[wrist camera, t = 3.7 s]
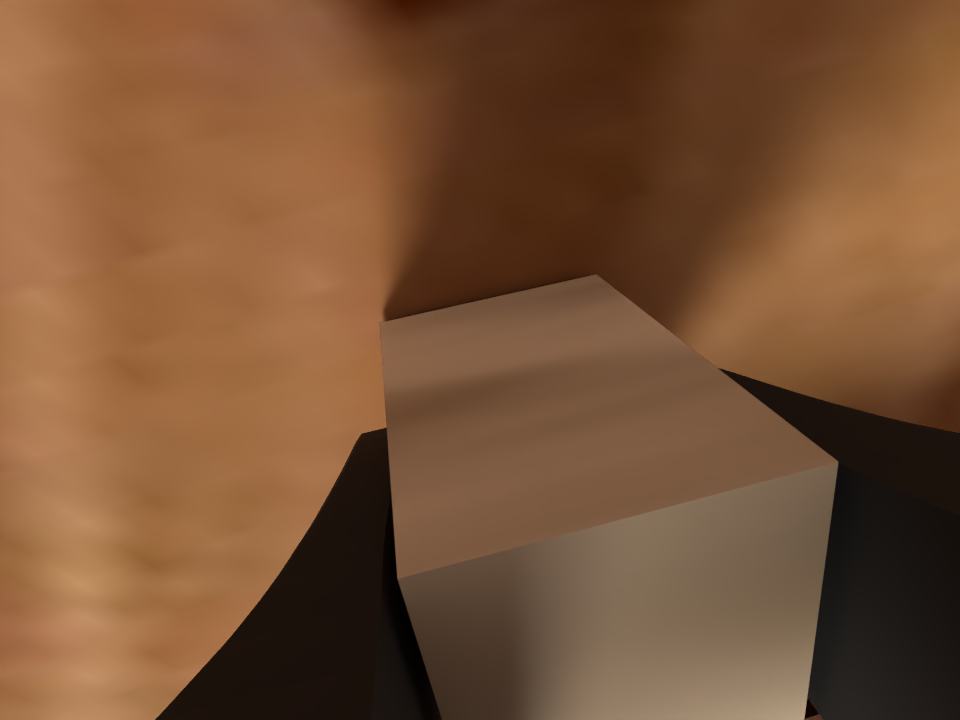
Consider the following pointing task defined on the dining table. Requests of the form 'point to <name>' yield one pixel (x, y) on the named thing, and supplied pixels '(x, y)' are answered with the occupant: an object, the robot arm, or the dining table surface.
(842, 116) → the dining table surface
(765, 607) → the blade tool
